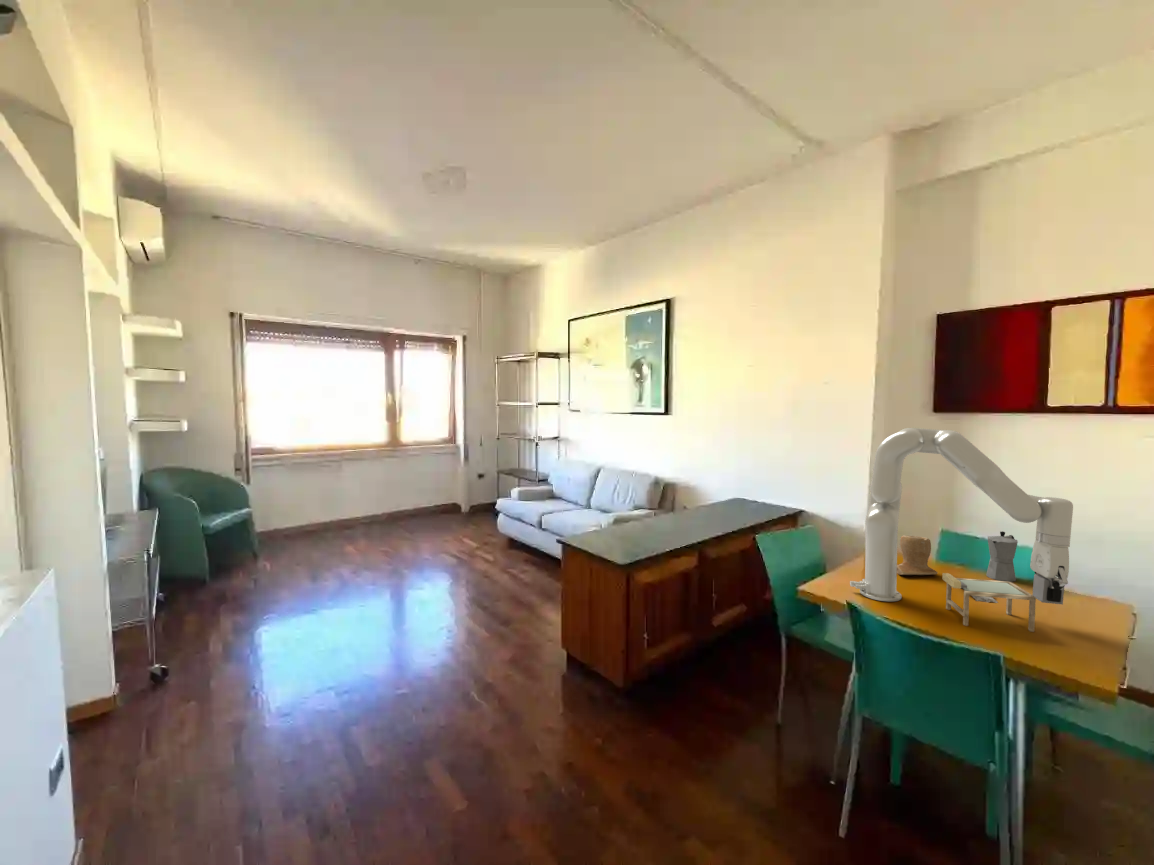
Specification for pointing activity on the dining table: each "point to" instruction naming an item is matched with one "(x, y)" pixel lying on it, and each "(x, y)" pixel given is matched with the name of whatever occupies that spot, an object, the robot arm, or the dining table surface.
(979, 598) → the stone fragment
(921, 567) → the stone cup
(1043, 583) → the granite block
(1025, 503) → the robot arm
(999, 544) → the coffeepot
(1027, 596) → the trapdoor frame
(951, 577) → the trapdoor
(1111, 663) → the dining table surface
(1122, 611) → the dining table surface
